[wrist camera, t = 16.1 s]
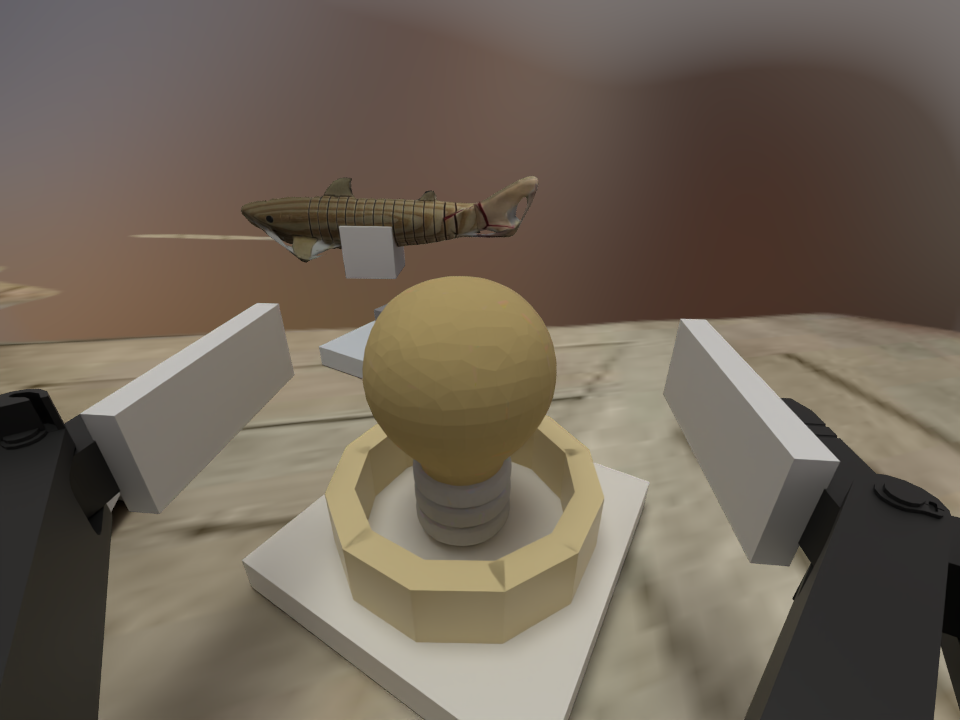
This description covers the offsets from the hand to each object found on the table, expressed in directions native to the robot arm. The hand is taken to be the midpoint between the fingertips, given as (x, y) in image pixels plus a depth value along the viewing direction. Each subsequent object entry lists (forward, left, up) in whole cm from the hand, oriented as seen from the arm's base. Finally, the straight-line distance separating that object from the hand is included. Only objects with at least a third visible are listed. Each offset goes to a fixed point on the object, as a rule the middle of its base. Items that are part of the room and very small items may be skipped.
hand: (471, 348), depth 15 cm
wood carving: (-30, +30, -9) cm, 43 cm away
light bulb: (0, 0, -8) cm, 8 cm away
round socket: (0, 0, -9) cm, 9 cm away
